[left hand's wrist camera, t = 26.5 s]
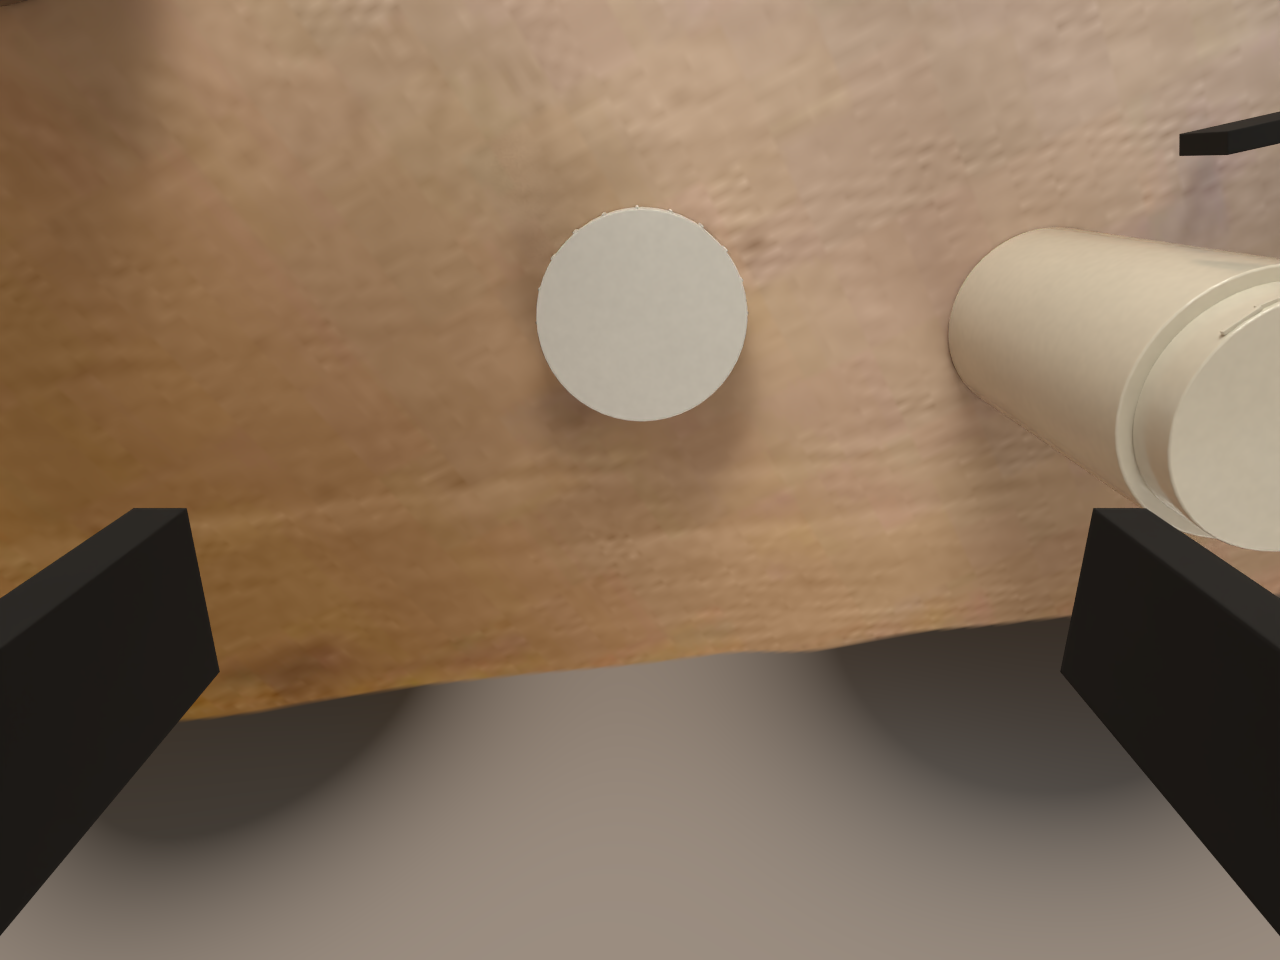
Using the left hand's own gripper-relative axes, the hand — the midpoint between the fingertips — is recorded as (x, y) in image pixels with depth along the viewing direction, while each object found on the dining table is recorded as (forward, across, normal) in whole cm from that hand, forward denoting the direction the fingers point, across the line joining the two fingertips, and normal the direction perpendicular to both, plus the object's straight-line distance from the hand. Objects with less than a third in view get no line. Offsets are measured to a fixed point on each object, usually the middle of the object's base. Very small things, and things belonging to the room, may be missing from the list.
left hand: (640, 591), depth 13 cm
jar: (+27, +18, -1) cm, 32 cm away
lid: (+25, 0, 0) cm, 25 cm away
